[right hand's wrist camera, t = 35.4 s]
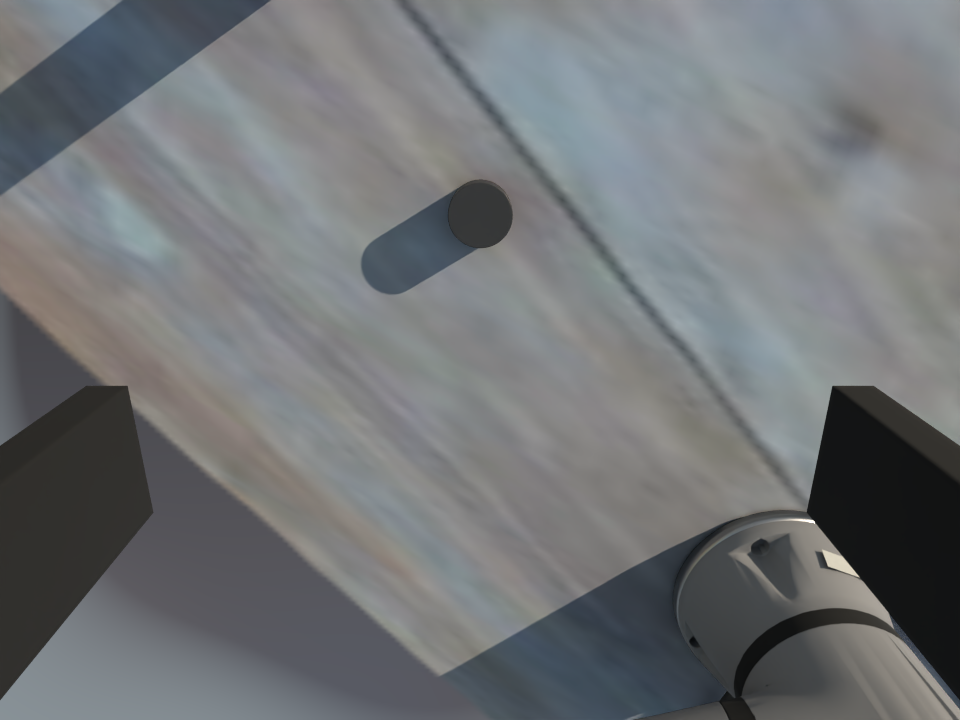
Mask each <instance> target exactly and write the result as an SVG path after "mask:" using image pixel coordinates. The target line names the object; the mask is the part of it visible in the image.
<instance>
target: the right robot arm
mask: <svg viewBox="0 0 960 720" xmlns="http://www.w3.org/2000/svg"><path fill="white" fill-rule="evenodd" d="M152 513H153V509H152V504H151V499H150V494H149V489H148V484H147V479H146V475H145V470H144V465H143V460H142V455H141V450H140V445H139V440H138V435H137V430H136V425H135V420H134V415H133V411H132V406H131V401H130V396H129V391H128V386H86V387H84V388H83V389H81V390H80V391H78V392H77V393H76V394H74V395H73V396H71V397H70V398H68V399H67V400H65V401H64V402H63V403H61V404H60V405H58V406H57V407H55V408H54V409H52V410H51V411H50V412H48V413H47V414H45V415H44V416H42V417H41V418H40V419H38V420H37V421H35V422H34V423H32V424H31V425H29V426H28V427H27V428H25V429H24V430H22V431H21V432H19V433H18V434H17V435H15V436H14V437H12V438H11V439H9V440H8V441H7V442H5V443H4V444H2V445H1V446H0V700H1V698H2V697H3V696H4V695H5V694H6V692H7V691H8V690H9V689H10V687H11V686H12V685H13V684H14V683H15V681H16V680H17V679H18V678H19V676H20V675H21V674H22V673H23V671H24V670H25V669H26V668H27V667H28V665H29V664H30V663H31V662H32V660H33V659H34V658H35V657H36V656H37V654H38V653H39V652H40V651H41V649H42V648H43V647H44V646H45V645H46V643H47V642H48V641H49V640H50V638H51V637H52V636H53V635H54V634H55V632H56V631H57V630H58V629H59V627H60V626H61V625H62V624H63V623H64V621H65V620H66V619H67V618H68V616H69V615H70V614H71V613H72V612H73V610H74V609H75V608H76V607H77V605H78V604H79V603H80V602H81V600H82V599H83V598H84V597H85V596H86V594H87V593H88V592H89V591H90V589H91V588H92V587H93V586H94V585H95V583H96V582H97V581H98V580H99V578H100V577H101V576H102V575H103V574H104V572H105V571H106V570H107V569H108V567H109V566H110V565H111V564H112V563H113V561H114V560H115V559H116V558H117V556H118V555H119V554H120V553H121V551H122V550H123V549H124V548H125V547H126V545H127V544H128V543H129V542H130V540H131V539H132V538H133V537H134V536H135V534H136V533H137V532H138V531H139V529H140V528H141V527H142V526H143V524H144V523H145V522H146V521H147V520H148V518H149V517H150V516H151V515H152ZM673 608H674V613H675V617H676V620H677V623H678V625H679V628H680V631H681V633H682V635H683V637H684V639H685V641H686V643H687V644H688V646H689V648H690V649H691V651H692V652H693V654H694V655H695V656H696V657H697V659H698V660H699V661H700V662H701V663H702V664H703V665H704V666H705V667H706V668H707V669H708V671H709V672H710V673H711V674H712V675H713V676H714V677H715V678H716V679H717V680H718V681H719V682H720V683H721V684H722V686H723V687H724V688H725V689H726V690H727V692H726V693H725V695H724V696H723V697H722V699H721V700H720V701H717V702H713V703H708V704H704V705H699V706H695V707H690V708H686V709H682V710H677V711H673V712H668V713H664V714H659V715H654V716H650V717H645V718H640V719H635V720H960V709H959V708H958V707H957V706H956V704H955V703H954V702H953V701H952V700H951V698H950V697H949V696H948V695H947V693H946V692H945V691H944V690H943V689H942V687H941V686H940V685H939V684H938V682H937V681H936V680H935V679H934V678H933V676H932V675H931V674H930V673H929V671H928V670H927V669H926V668H925V667H924V665H923V664H922V663H921V662H920V660H919V659H918V658H917V657H916V656H915V654H914V653H913V652H912V651H911V650H910V648H909V647H908V646H907V645H906V643H905V642H904V641H903V640H902V638H901V637H900V636H899V635H898V633H897V632H896V631H895V629H894V627H893V624H892V622H891V619H890V616H889V614H890V615H891V616H892V618H893V619H894V620H895V621H896V623H897V624H898V625H899V626H900V627H901V629H902V630H903V631H904V632H905V634H906V635H907V636H908V637H909V638H910V640H911V641H912V642H913V643H914V645H915V646H916V647H917V648H918V649H919V651H920V652H921V653H922V654H923V656H924V657H925V658H926V659H927V660H928V662H929V663H930V664H931V665H932V667H933V668H934V669H935V670H936V672H937V673H938V674H939V675H940V676H941V678H942V679H943V680H944V681H945V683H946V684H947V685H948V686H949V687H950V689H951V690H952V691H953V692H954V694H955V695H956V696H957V697H958V698H959V700H960V446H959V445H958V444H956V443H955V442H954V441H952V440H951V439H949V438H948V437H946V436H945V435H943V434H942V433H941V432H939V431H938V430H936V429H935V428H933V427H932V426H931V425H929V424H928V423H926V422H925V421H923V420H922V419H920V418H919V417H918V416H916V415H915V414H913V413H912V412H910V411H909V410H908V409H906V408H905V407H903V406H902V405H900V404H899V403H897V402H896V401H895V400H893V399H892V398H890V397H889V396H887V395H886V394H884V393H883V392H882V391H880V390H879V389H877V388H876V387H874V386H832V391H831V396H830V401H829V406H828V411H827V415H826V420H825V425H824V430H823V435H822V440H821V445H820V450H819V455H818V460H817V465H816V469H815V474H814V479H813V484H812V489H811V494H810V499H809V504H808V509H807V513H806V512H801V511H791V510H778V511H768V512H761V513H757V514H753V515H749V516H746V517H743V518H740V519H738V520H735V521H733V522H731V523H729V524H727V525H725V526H723V527H721V528H720V529H718V530H716V531H715V532H713V533H712V534H711V535H709V536H708V537H707V538H705V539H704V540H703V541H702V542H701V543H700V544H699V545H698V546H697V547H696V548H695V549H694V550H693V551H692V552H691V554H690V555H689V556H688V558H687V559H686V561H685V562H684V564H683V566H682V567H681V569H680V571H679V574H678V576H677V579H676V582H675V586H674V592H673Z"/></svg>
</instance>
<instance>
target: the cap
mask: <svg viewBox="0 0 960 720" xmlns="http://www.w3.org/2000/svg"><path fill="white" fill-rule="evenodd" d="M512 218H513V213H512V207H511V204H510V201H509V198H508V196H507V194H506V193H505V191H504V190H503V189H502V188H501V187H500V186H498V185H497V184H495V183H493V182H491V181H487V180H474V181H470V182H468V183H466V184H464V185H463V186H461V187H460V188H459V189H458V190H457V191H456V192H455V194H454V196H453V197H452V200H451V203H450V206H449V210H448V221H449V225H450V228H451V230H452V232H453V234H454V235H455V236H456V237H457V238H458V239H459V240H460V241H461V242H462V243H464V244H466V245H468V246H471V247H474V248H486V247H490V246H493V245H495V244H497V243H498V242H500V241H501V240H502V239H503V238H504V237H505V236H506V235H507V233H508V231H509V229H510V227H511V224H512Z"/></svg>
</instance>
